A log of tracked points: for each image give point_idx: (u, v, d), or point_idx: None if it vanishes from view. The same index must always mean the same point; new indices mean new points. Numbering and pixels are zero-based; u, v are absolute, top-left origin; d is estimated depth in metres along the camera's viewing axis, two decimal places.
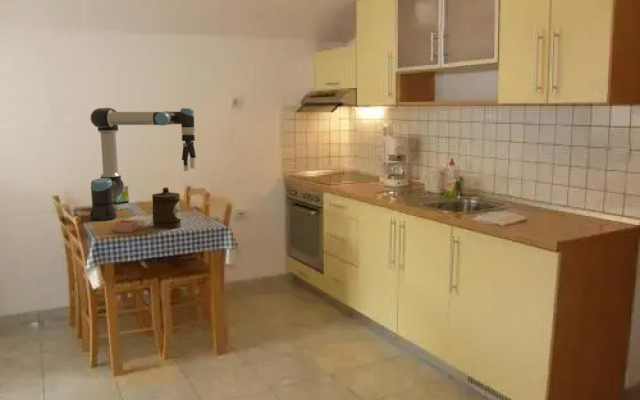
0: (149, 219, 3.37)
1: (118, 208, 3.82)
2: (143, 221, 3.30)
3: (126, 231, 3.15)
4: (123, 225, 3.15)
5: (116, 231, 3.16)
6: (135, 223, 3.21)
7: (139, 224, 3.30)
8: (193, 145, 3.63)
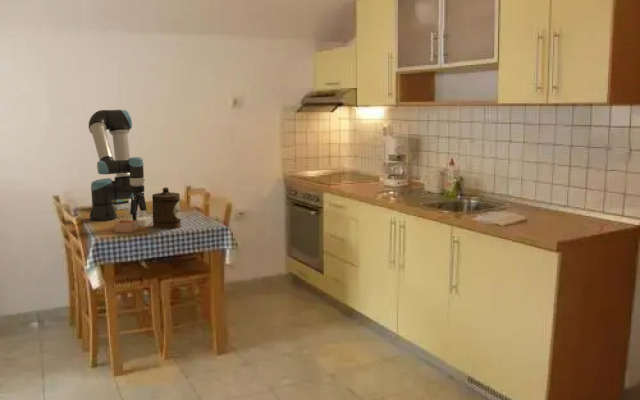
0: (149, 219, 3.37)
1: (118, 208, 3.82)
2: (143, 221, 3.30)
3: (126, 231, 3.15)
4: (123, 225, 3.15)
5: (116, 231, 3.16)
6: (135, 223, 3.21)
7: (139, 224, 3.30)
8: (143, 196, 3.39)
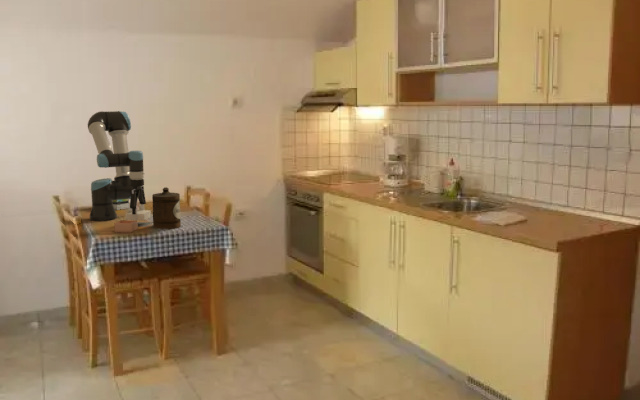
0: (148, 213, 3.37)
1: (118, 208, 3.82)
2: (142, 215, 3.30)
3: (126, 231, 3.15)
4: (123, 225, 3.15)
5: (116, 231, 3.16)
6: (135, 223, 3.21)
7: (138, 218, 3.30)
8: (143, 190, 3.39)
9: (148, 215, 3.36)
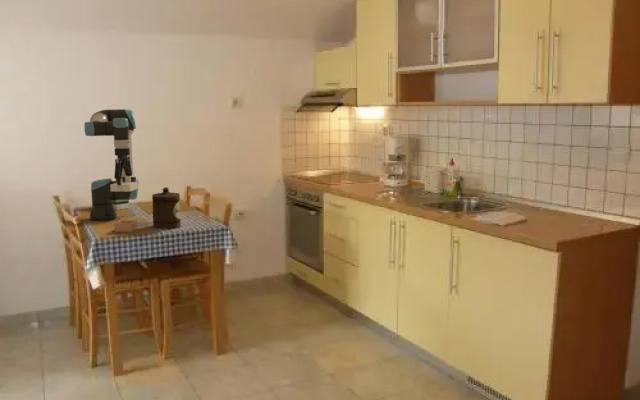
0: (135, 185, 3.18)
1: (118, 208, 3.82)
2: (128, 186, 3.10)
3: (126, 231, 3.15)
4: (123, 225, 3.15)
5: (116, 231, 3.16)
6: (135, 223, 3.21)
7: (124, 189, 3.11)
8: (129, 161, 3.20)
9: (134, 187, 3.17)
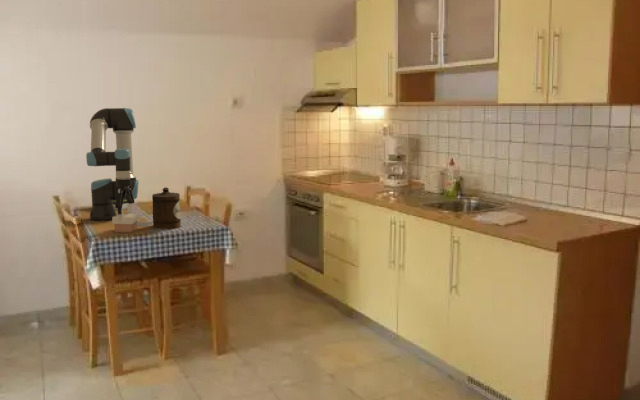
0: (137, 216, 3.21)
1: None
2: (130, 218, 3.13)
3: (126, 231, 3.15)
4: (123, 225, 3.15)
5: (116, 231, 3.16)
6: (135, 223, 3.21)
7: (126, 222, 3.14)
8: (131, 189, 3.23)
9: (136, 219, 3.20)
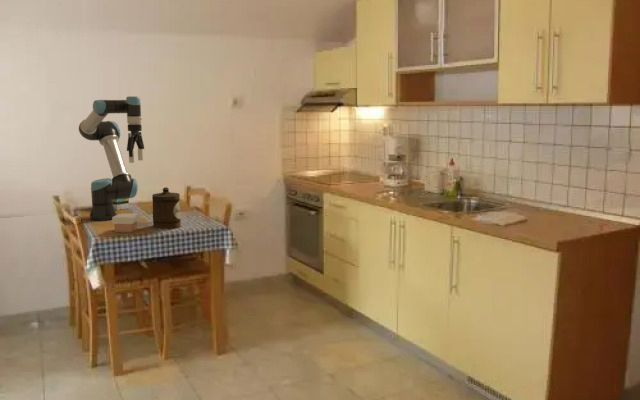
0: (137, 216, 3.21)
1: (118, 208, 3.82)
2: (130, 218, 3.13)
3: (126, 231, 3.15)
4: (123, 225, 3.15)
5: (116, 231, 3.16)
6: (135, 223, 3.21)
7: (126, 222, 3.14)
8: (141, 136, 3.45)
9: (136, 219, 3.20)
